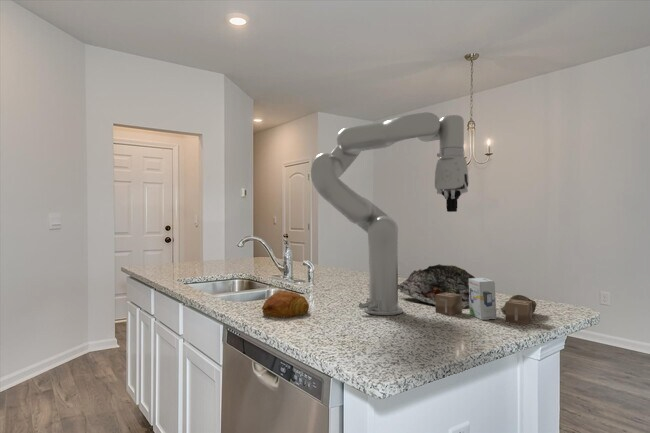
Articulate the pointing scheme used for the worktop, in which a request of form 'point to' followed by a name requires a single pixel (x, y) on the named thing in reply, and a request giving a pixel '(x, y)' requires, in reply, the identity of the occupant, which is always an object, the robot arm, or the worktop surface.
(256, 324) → the worktop surface
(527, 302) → the walnut block
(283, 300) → the croissant
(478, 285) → the ink box
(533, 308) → the stone
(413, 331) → the worktop surface
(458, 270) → the bark piece
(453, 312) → the cardboard box
